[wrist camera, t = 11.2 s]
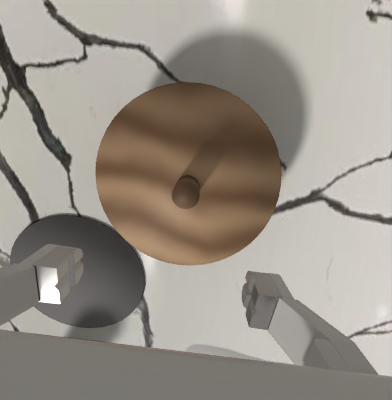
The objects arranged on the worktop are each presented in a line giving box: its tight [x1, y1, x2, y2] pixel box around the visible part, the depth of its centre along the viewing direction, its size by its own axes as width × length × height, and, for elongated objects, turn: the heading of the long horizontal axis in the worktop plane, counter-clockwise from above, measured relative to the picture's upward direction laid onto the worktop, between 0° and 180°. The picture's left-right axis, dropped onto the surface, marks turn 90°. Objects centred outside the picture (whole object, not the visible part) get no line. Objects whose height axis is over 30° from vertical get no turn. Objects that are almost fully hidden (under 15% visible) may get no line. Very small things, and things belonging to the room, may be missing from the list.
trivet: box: [10, 215, 145, 328], centre depth 40 cm, size 27×27×1 cm
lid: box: [96, 82, 281, 265], centre depth 25 cm, size 25×25×5 cm
